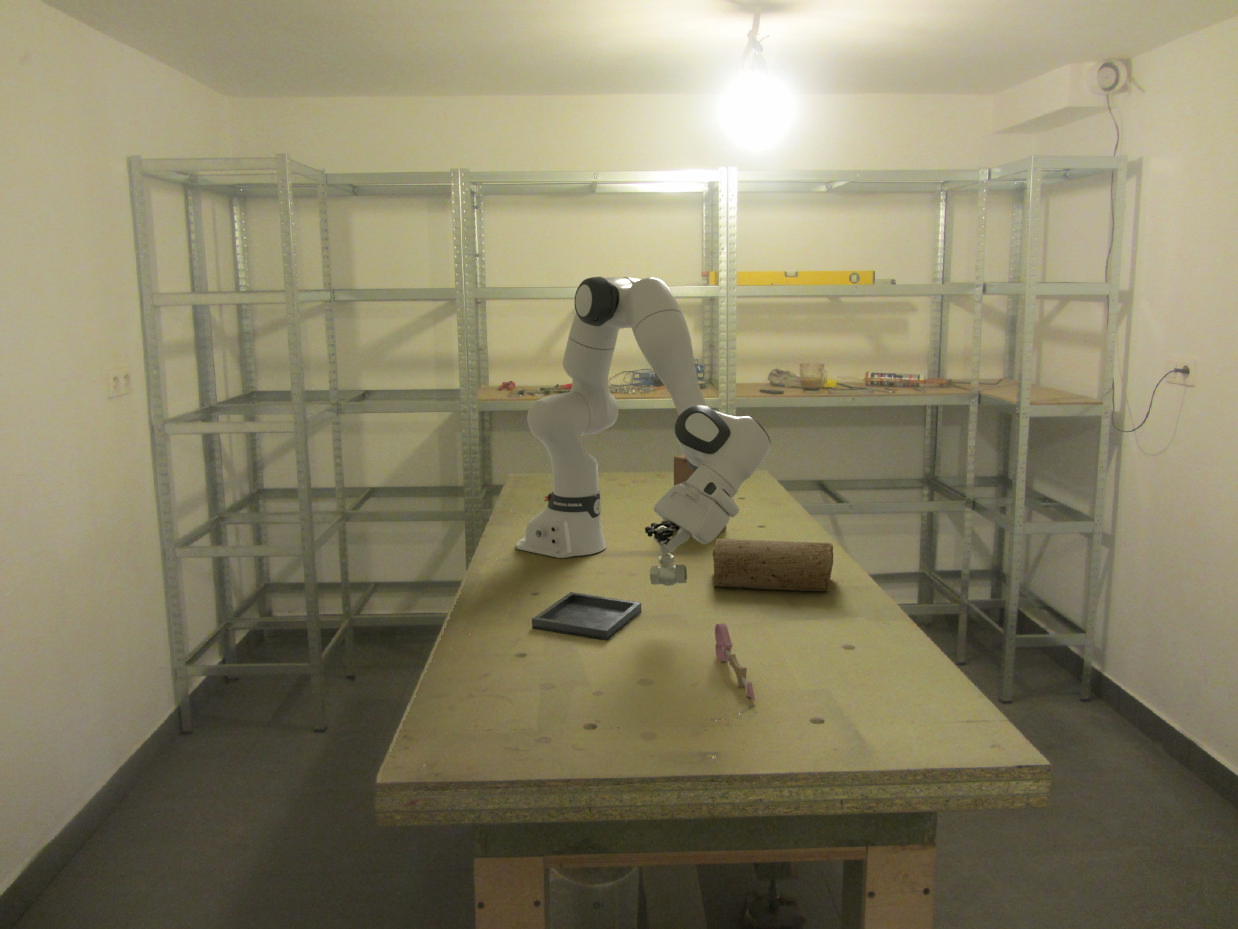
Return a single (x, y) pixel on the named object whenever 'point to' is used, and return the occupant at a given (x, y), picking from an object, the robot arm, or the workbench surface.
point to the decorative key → (731, 657)
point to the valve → (665, 557)
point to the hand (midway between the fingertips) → (661, 545)
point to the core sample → (772, 565)
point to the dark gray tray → (587, 616)
